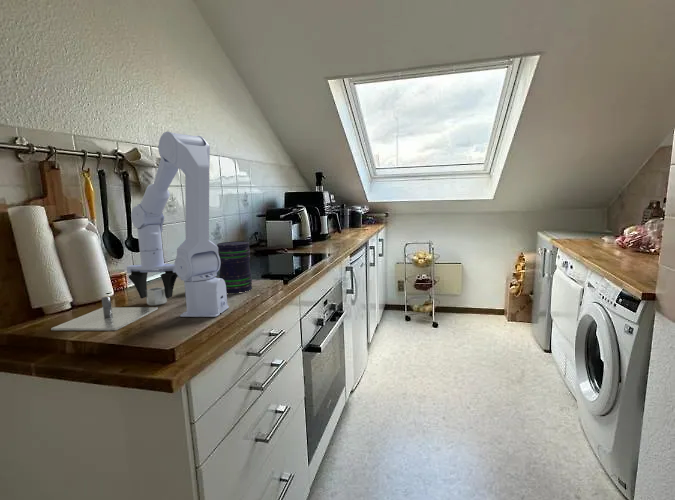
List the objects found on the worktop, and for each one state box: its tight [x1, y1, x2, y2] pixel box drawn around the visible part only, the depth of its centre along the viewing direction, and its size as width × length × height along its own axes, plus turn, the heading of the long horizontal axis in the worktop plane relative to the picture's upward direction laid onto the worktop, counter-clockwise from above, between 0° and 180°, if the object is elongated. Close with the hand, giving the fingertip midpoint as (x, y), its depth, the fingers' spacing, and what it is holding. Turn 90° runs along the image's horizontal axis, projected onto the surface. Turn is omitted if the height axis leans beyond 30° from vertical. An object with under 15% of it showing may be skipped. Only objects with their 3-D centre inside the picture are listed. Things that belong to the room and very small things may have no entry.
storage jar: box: [216, 240, 253, 294], centre depth 116 cm, size 10×10×15 cm
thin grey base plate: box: [50, 296, 158, 332], centre depth 91 cm, size 16×16×6 cm
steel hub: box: [145, 286, 168, 306], centre depth 105 cm, size 5×5×4 cm
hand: (156, 297), depth 105 cm, fingers open, 7 cm apart
